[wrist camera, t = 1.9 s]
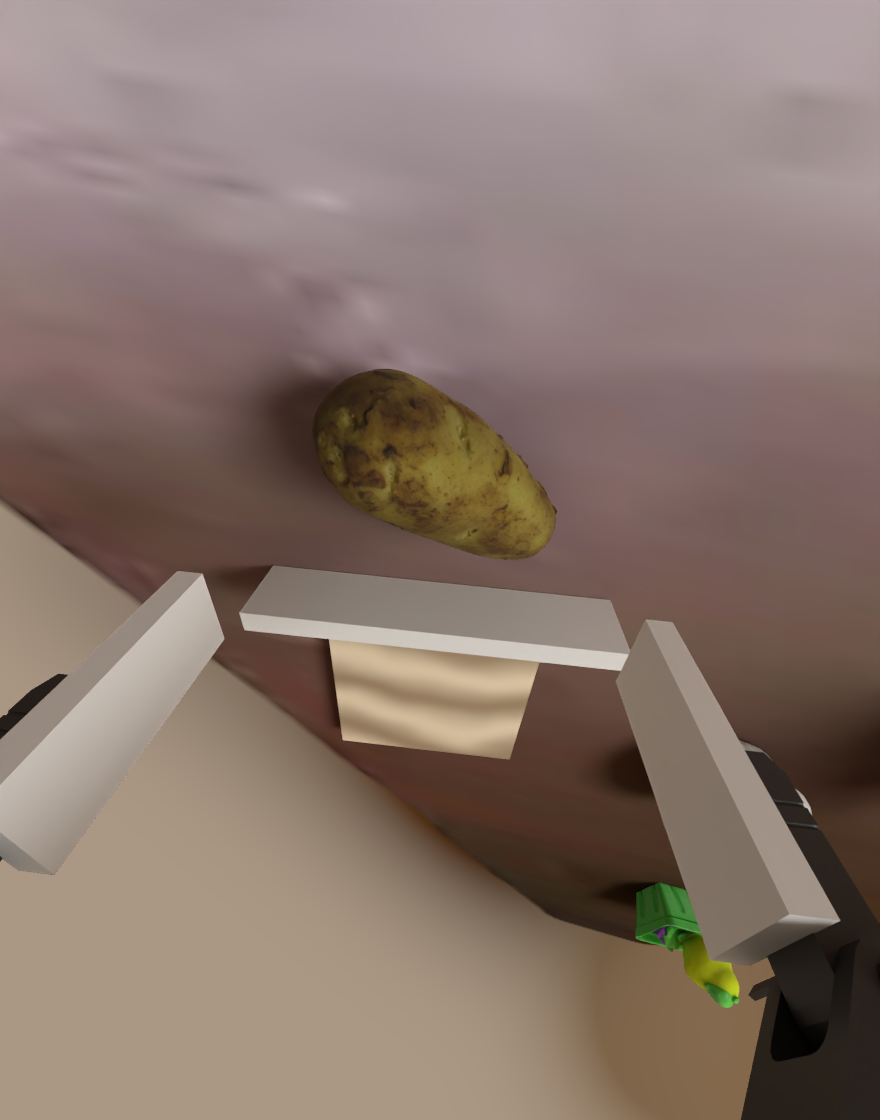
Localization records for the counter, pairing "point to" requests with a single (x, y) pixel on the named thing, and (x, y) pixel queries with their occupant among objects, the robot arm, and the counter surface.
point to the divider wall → (438, 617)
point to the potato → (430, 466)
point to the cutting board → (430, 698)
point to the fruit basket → (683, 939)
